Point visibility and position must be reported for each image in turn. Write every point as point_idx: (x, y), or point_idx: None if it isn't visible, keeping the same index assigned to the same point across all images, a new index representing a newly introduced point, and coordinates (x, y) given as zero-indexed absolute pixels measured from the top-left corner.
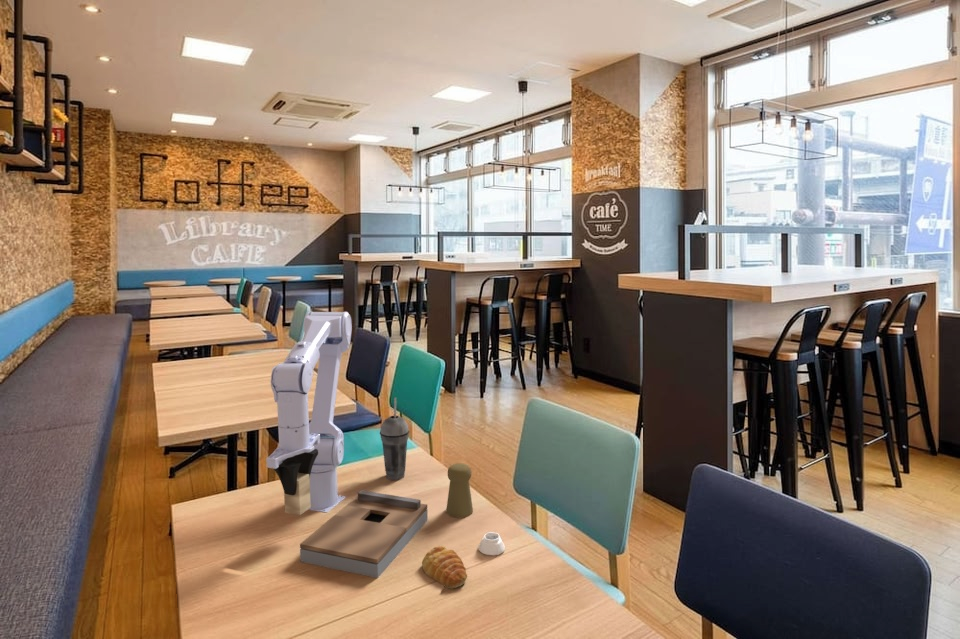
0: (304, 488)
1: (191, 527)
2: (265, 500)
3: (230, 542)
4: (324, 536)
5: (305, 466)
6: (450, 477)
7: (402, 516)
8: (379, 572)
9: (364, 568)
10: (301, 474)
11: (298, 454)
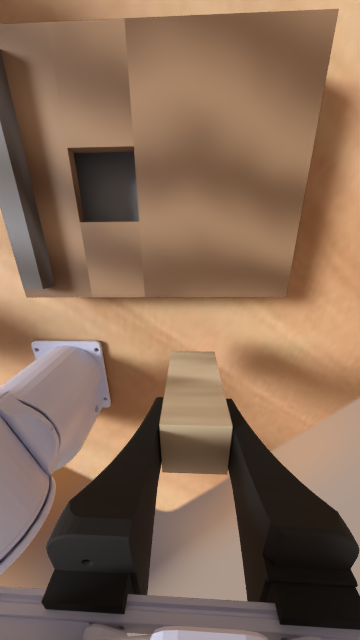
0: (194, 392)
1: (211, 476)
2: (109, 445)
3: None
4: (243, 262)
5: (151, 469)
6: None
7: (66, 85)
8: None
9: None
10: (172, 445)
11: (143, 569)
